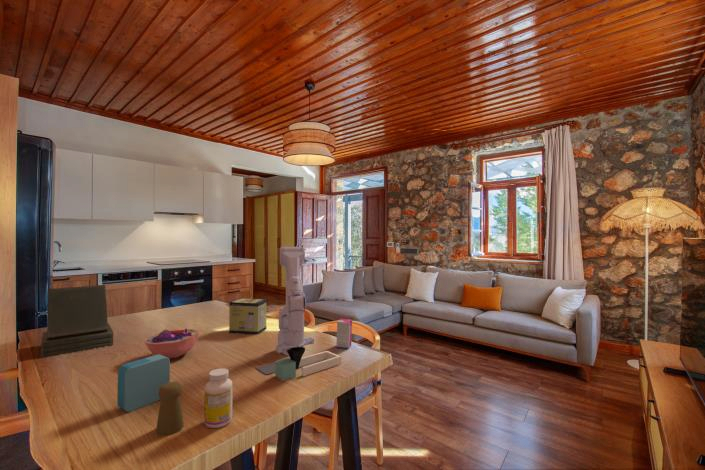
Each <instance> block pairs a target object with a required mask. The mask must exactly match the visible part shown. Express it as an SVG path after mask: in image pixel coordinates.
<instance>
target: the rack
mask: <svg viewBox="0 0 705 470" xmlns="http://www.w3.org/2000/svg"><path fill="white" fill-rule="evenodd" d="M339 365H342V356H341V355H338V354H336V353H333V352H331V351H329V350H325V351H321V352H318V353H315V354H310V355H307V356H302V358H301V360H300V364H299V368H301V376H302V377H307V376H309V375H311V374H315V373H318V372H322V371H324V370H327V369H330V368H333V367H336V366H339Z"/></svg>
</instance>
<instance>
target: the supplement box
mask: <svg viewBox="0 0 705 470" xmlns="http://www.w3.org/2000/svg"><path fill="white" fill-rule="evenodd" d="M352 332H353V319H348V318H347V319H346V318H339V320H337V321H336V343H335V344H336V345H335V346H336V347H335V348H336V349H343V350H349V349H350V347H352V338H353V337H352V335H353V334H352Z"/></svg>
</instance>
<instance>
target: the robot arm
mask: <svg viewBox="0 0 705 470" xmlns="http://www.w3.org/2000/svg"><path fill="white" fill-rule="evenodd" d="M305 251H306V250H305V247H304V246H283V245H282V246H280V247H279V264H280V266H281V267H283V268H284V270H285V306H284V307H282V308H281V309H280V310H279V312H278V329H279V331H278V333H277V345H275V352H276V353H278V354H283V355H284V356H287V357H288V356H289V357H288V358H289V359H291V360H293V361H295V362H296V370H299V368H300V367H299V364H300V360H301V358H303V355H304V354H305V352H306V348H305V346H308V345H314V344H315V338H313V337H307V338H305V312H306V308H307V299H306V294H305V291H304V285H303V280H302V279H301V278H300V267H302V266H303V264H304V262H305V259H306V258H305V256H306V252H305Z"/></svg>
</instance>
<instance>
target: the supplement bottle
mask: <svg viewBox="0 0 705 470" xmlns="http://www.w3.org/2000/svg"><path fill="white" fill-rule="evenodd" d="M229 372H230V371H229V369H228V368H223V367H222V368H216V369H213V370H211V371H210V372H208V379H209V381H207V383H206V384H205V386H204V425H205V426H206V427H207V428H210V429H218V428H222V427H224V426H227V425H228V424H230V422H231V421H232V419H233V381H232V380H231V379H230V378H229V375H230V374H229Z"/></svg>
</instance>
